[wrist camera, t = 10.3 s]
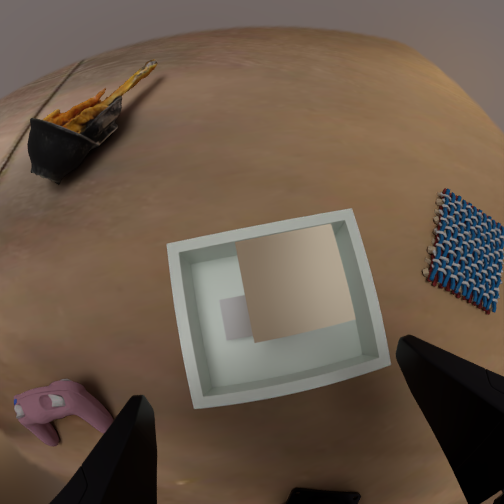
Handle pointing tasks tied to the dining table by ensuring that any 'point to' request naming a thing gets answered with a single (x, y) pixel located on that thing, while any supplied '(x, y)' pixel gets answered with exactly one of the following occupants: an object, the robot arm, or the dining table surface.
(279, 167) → the dining table surface
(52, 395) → the video game controller
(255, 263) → the plate
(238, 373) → the box
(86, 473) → the robot arm
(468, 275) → the woven mat
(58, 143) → the fried shrimp in bowl
